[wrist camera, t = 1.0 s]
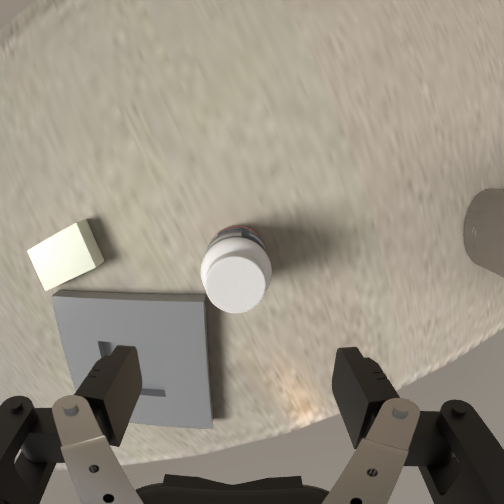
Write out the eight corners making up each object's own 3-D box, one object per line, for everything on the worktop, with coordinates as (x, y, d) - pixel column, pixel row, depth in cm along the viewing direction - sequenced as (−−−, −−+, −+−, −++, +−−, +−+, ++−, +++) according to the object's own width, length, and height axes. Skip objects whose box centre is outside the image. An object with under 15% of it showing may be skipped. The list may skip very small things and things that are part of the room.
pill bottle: (273, 269, 30) (287, 307, 21) (221, 288, 30) (215, 333, 22) (253, 215, 29) (259, 234, 20) (199, 237, 29) (182, 264, 20)
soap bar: (87, 218, 28) (76, 222, 26) (106, 260, 30) (96, 267, 27) (39, 245, 29) (27, 250, 26) (56, 283, 30) (45, 291, 28)
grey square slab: (205, 294, 30) (203, 301, 29) (213, 418, 34) (212, 428, 32) (59, 289, 30) (51, 296, 28) (89, 406, 34) (84, 415, 32)
